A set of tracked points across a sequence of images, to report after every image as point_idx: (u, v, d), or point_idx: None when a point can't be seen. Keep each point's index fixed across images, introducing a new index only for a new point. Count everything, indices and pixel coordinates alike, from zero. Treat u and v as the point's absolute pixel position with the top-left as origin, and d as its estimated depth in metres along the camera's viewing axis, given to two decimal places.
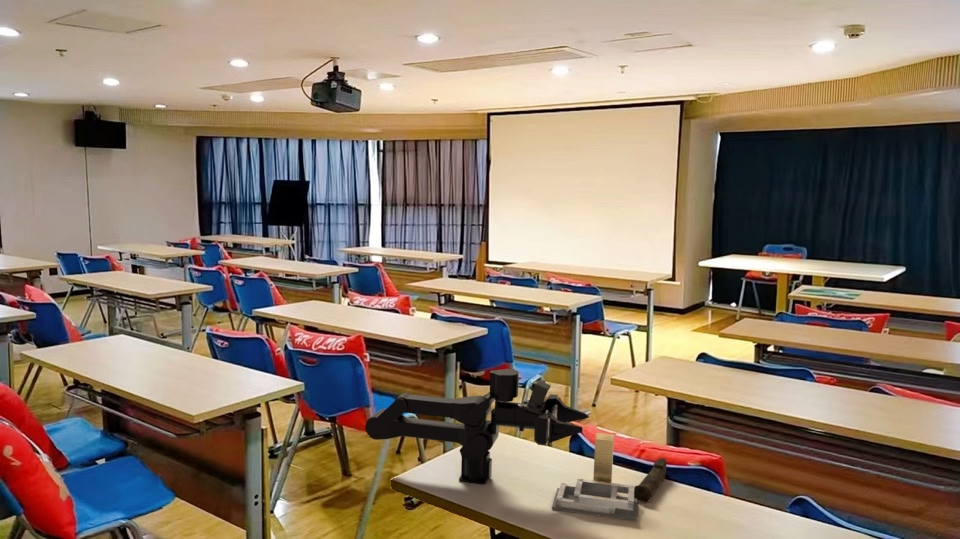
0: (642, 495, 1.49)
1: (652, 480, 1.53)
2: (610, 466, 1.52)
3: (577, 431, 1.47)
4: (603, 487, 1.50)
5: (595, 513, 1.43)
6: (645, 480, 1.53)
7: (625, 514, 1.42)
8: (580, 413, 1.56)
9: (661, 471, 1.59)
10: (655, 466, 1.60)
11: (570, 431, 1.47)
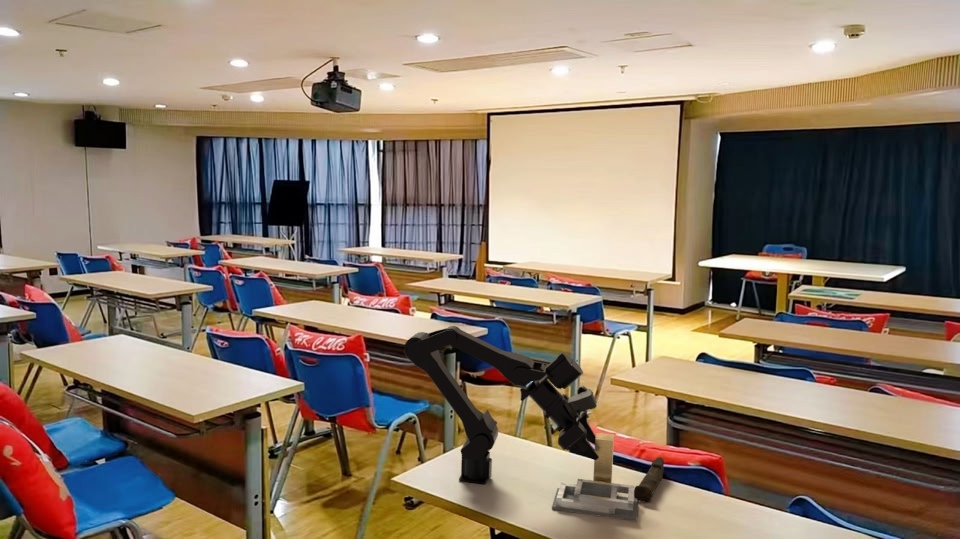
0: (642, 495, 1.49)
1: (652, 480, 1.53)
2: (610, 466, 1.52)
3: (592, 457, 1.49)
4: (603, 487, 1.50)
5: (595, 513, 1.43)
6: (645, 480, 1.53)
7: (625, 514, 1.42)
8: None
9: (659, 470, 1.59)
10: (653, 466, 1.60)
11: (588, 453, 1.49)
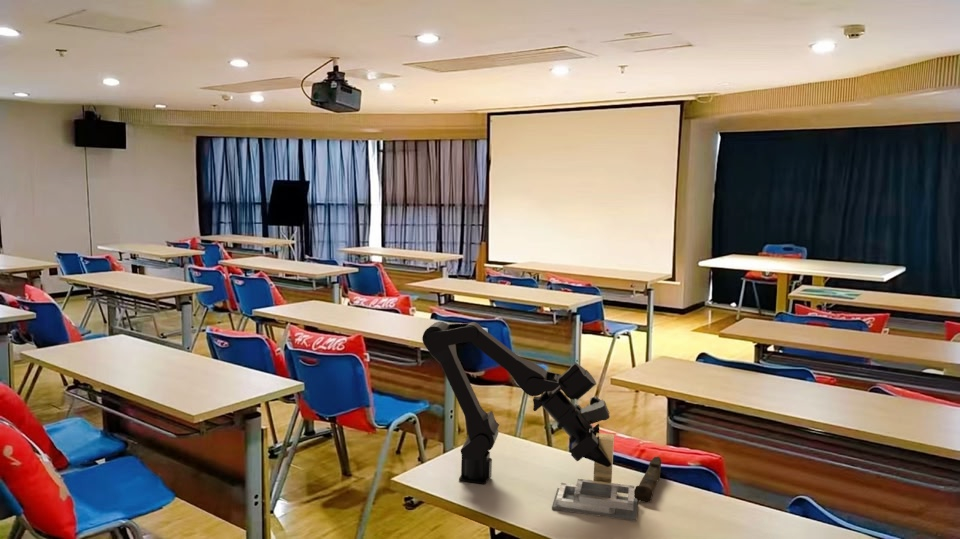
0: (643, 495, 1.49)
1: (651, 480, 1.53)
2: (610, 466, 1.52)
3: (605, 464, 1.51)
4: (603, 487, 1.50)
5: (595, 513, 1.43)
6: (645, 480, 1.53)
7: (625, 514, 1.42)
8: None
9: (658, 470, 1.59)
10: (651, 465, 1.61)
11: (600, 460, 1.51)
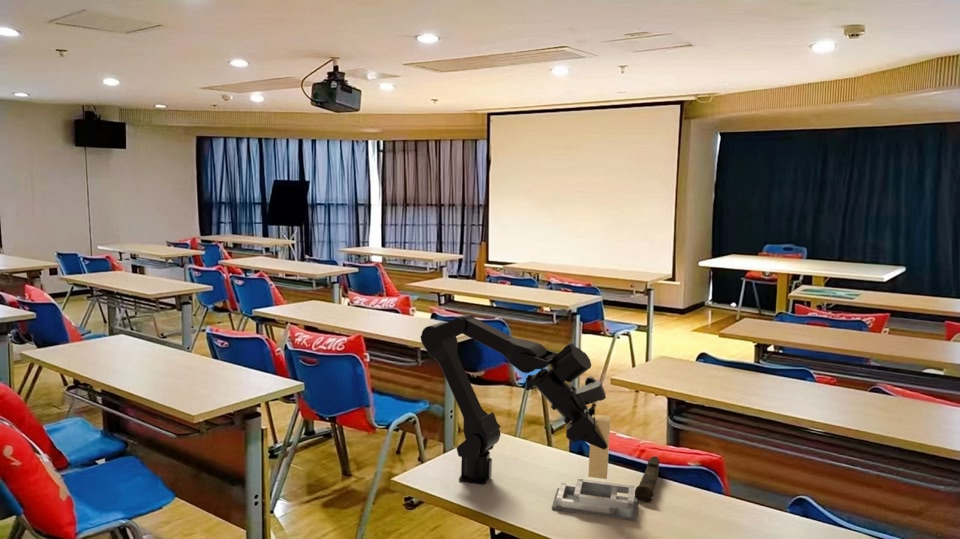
0: (644, 495, 1.49)
1: (651, 479, 1.53)
2: (606, 448, 1.45)
3: (601, 446, 1.45)
4: (603, 487, 1.50)
5: (595, 513, 1.43)
6: (644, 480, 1.53)
7: (625, 514, 1.42)
8: None
9: (656, 470, 1.59)
10: (649, 465, 1.61)
11: (596, 442, 1.44)
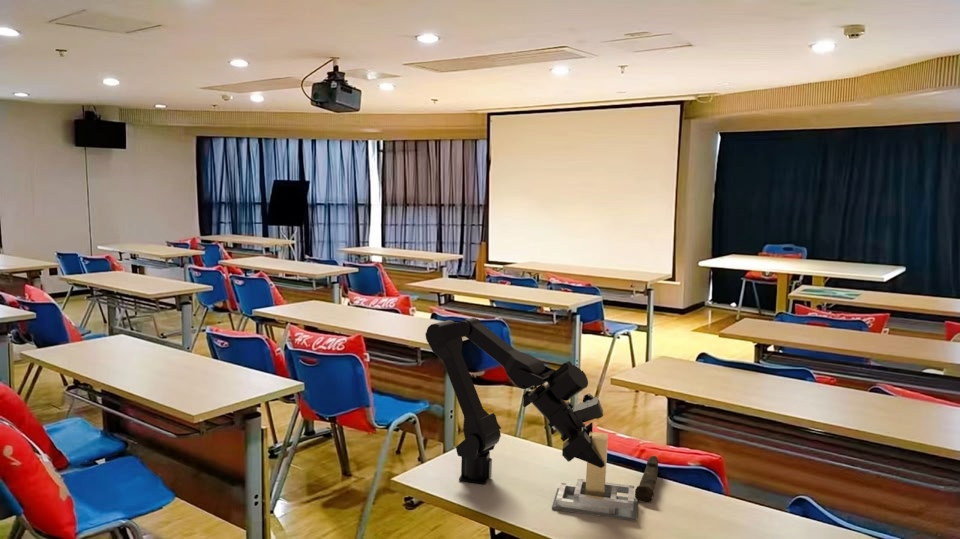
0: (644, 495, 1.49)
1: (651, 479, 1.53)
2: (604, 467, 1.44)
3: (598, 464, 1.43)
4: None
5: (595, 513, 1.43)
6: (644, 480, 1.53)
7: (625, 514, 1.42)
8: None
9: (655, 469, 1.60)
10: (649, 465, 1.61)
11: (593, 460, 1.43)
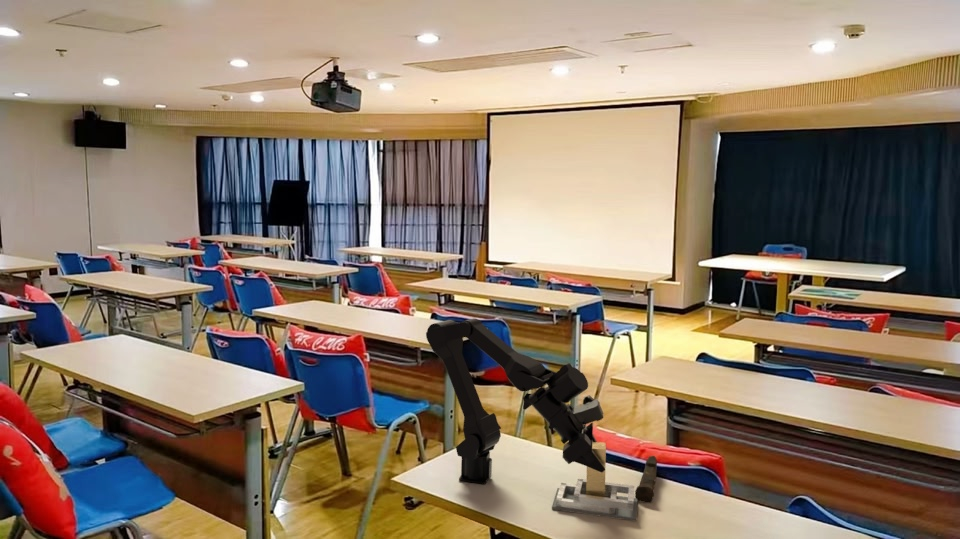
0: (644, 495, 1.49)
1: (651, 479, 1.53)
2: (603, 476, 1.44)
3: (598, 469, 1.42)
4: None
5: (595, 513, 1.43)
6: (644, 480, 1.53)
7: (625, 514, 1.42)
8: None
9: (655, 469, 1.60)
10: (648, 465, 1.61)
11: (594, 465, 1.42)
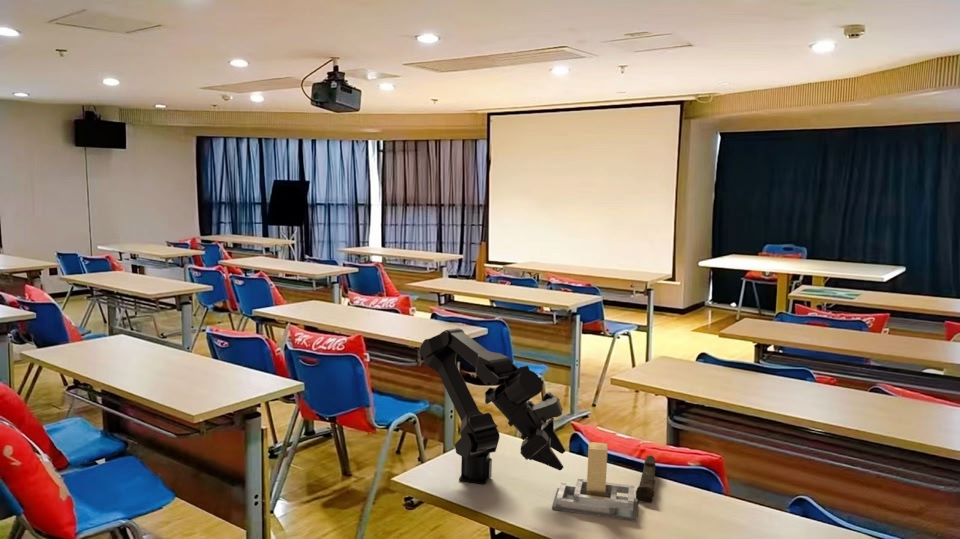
0: (645, 495, 1.49)
1: (651, 479, 1.54)
2: (604, 477, 1.44)
3: (557, 467, 1.43)
4: None
5: (595, 513, 1.43)
6: (644, 480, 1.53)
7: (625, 514, 1.42)
8: (561, 446, 1.52)
9: (653, 469, 1.60)
10: (646, 464, 1.61)
11: (552, 463, 1.42)
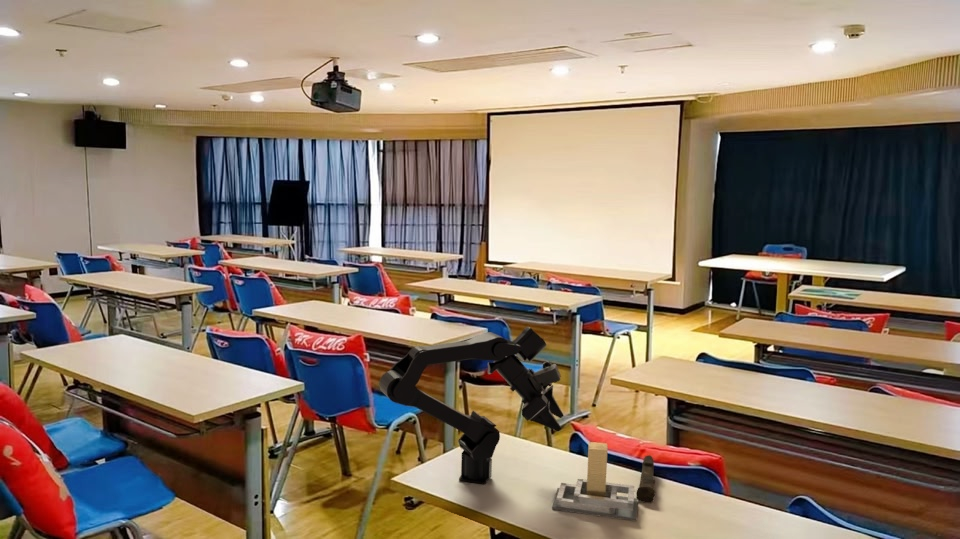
0: (646, 495, 1.49)
1: (650, 479, 1.54)
2: (604, 477, 1.44)
3: (555, 428, 1.55)
4: None
5: (595, 513, 1.43)
6: (644, 480, 1.53)
7: (625, 514, 1.42)
8: (560, 411, 1.64)
9: (652, 469, 1.60)
10: (645, 464, 1.61)
11: (551, 424, 1.54)
